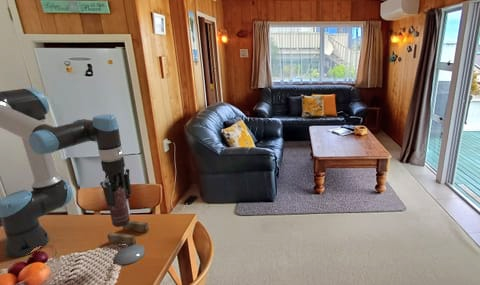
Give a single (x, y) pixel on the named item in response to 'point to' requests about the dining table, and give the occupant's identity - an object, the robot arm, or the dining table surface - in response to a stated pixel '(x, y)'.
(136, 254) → the coaster
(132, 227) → the rack
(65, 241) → the dining table surface
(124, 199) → the can
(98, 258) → the dining table surface
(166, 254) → the dining table surface
